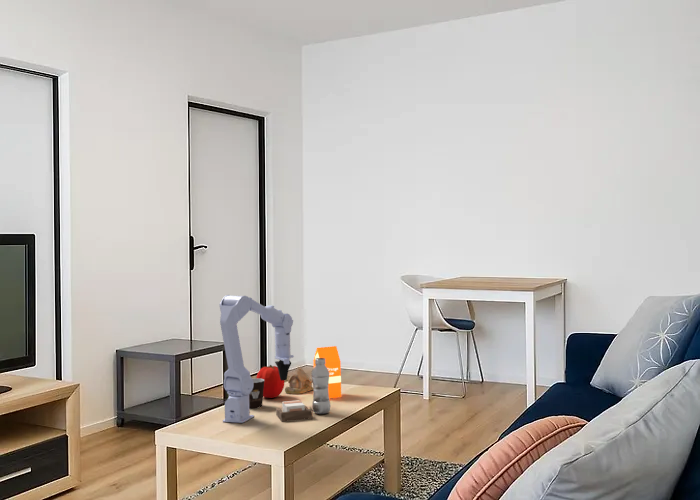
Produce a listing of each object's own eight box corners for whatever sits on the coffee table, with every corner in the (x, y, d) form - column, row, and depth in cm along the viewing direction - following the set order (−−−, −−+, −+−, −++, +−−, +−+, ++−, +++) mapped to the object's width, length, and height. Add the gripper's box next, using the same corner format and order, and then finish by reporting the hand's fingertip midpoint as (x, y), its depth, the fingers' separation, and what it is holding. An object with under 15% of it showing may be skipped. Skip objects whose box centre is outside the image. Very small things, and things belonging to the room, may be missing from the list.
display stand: (312, 418, 255) (311, 410, 254) (281, 421, 251) (281, 413, 251) (305, 412, 264) (305, 404, 264) (276, 414, 261) (276, 406, 261)
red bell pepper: (281, 393, 298) (280, 361, 297) (287, 399, 286) (287, 366, 286) (253, 395, 294) (252, 363, 294) (259, 402, 282) (258, 368, 282)
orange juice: (313, 395, 292) (312, 346, 291) (333, 393, 295) (332, 344, 295) (321, 399, 285) (320, 349, 284) (341, 397, 288) (340, 347, 288)
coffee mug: (267, 404, 279) (266, 378, 279) (262, 409, 270) (261, 382, 270) (237, 403, 280) (237, 378, 280) (232, 409, 271) (231, 382, 271)
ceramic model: (293, 387, 310) (292, 363, 310) (317, 388, 307) (317, 364, 307) (280, 394, 297) (279, 369, 297) (305, 395, 294) (305, 370, 293)
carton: (304, 419, 255) (304, 404, 255) (286, 420, 253) (286, 406, 253) (300, 413, 263) (299, 399, 263) (282, 415, 261) (282, 401, 261)
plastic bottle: (328, 416, 258) (327, 360, 258) (310, 415, 259) (309, 360, 259) (332, 411, 264) (331, 357, 264) (314, 411, 266) (313, 357, 265)
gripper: (297, 346, 269) (297, 382, 269) (289, 341, 283) (289, 375, 283) (278, 347, 267) (279, 384, 267) (271, 342, 281) (272, 377, 281)
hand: (283, 380), depth 275 cm, fingers closed
